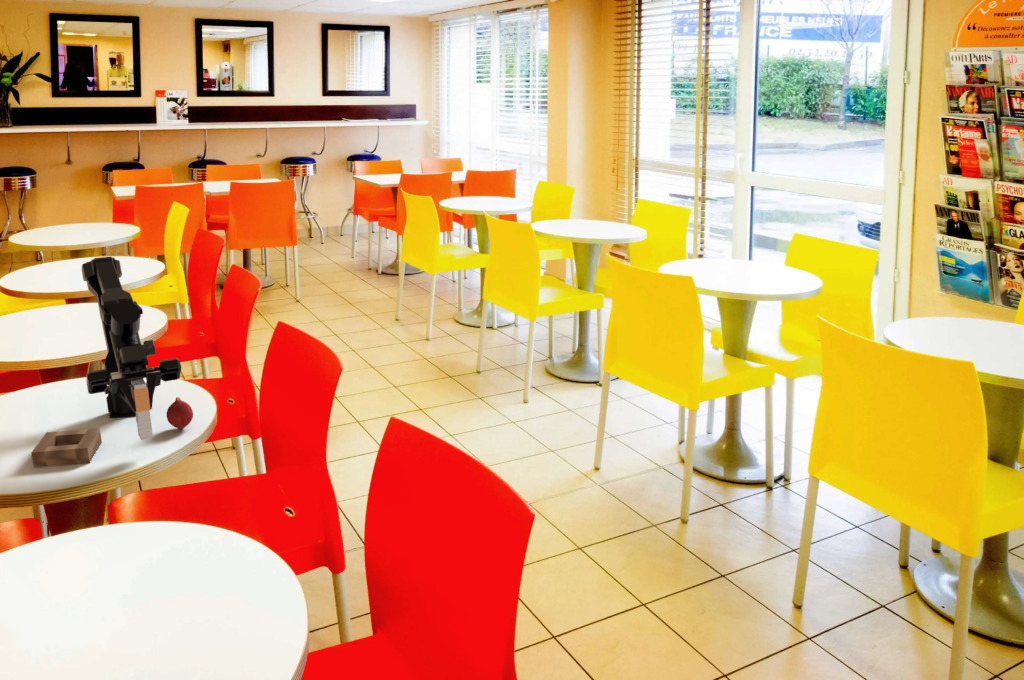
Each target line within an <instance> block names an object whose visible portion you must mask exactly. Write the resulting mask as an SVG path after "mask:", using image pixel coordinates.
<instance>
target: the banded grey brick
mask: <svg viewBox="0 0 1024 680" xmlns="http://www.w3.org/2000/svg"><path fill="white" fill-rule="evenodd" d="M131 383H132V385H131V392H132V397H133V400H134V403H135V407H136V412H135V414H136V416H135V420H136V421H135V422H136V428H137V435H138V437H139V439H140V440H141V441H143V440H149V439H153V438H154V436H153V435H154V434H153V428H152V420H151V419H152V418H151V410H152V409H150V401H149V393H148V388H147V386H146V381H145V380H144V378H143V379H140V380H134V381H131Z"/></svg>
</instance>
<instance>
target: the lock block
mask: <svg viewBox="0 0 1024 680" xmlns="http://www.w3.org/2000/svg"><path fill="white" fill-rule="evenodd" d="M101 435H102V434H101V428H100V427H99V428H87V429H86V428H85V429H73V430H60V431H59V430H58V431H47V432H46V433H44V435H43V436H42V438H41V439H40V441H39V442H38V443H37V444H36V445H35V447H34V448H33V449H32V451H31V452H30V453H31V459H32V465H33V468H34V469H35V468H44V467H46V468H47V467H56V466H58V465H59V466H69V465H81V464H82V463H83V464H90V463H91V462H92V460H93V459H92V458H94V457H95V455H96V453H97V452H98V450H99V448H100V447H101V445H102V443H103V442H102V440H103V439H102V436H101ZM99 446H100V447H99ZM96 451H97V452H96ZM94 454H95V455H94ZM93 456H94V457H93ZM90 461H91V462H90ZM83 464H82V465H83Z"/></svg>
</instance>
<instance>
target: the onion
mask: <svg viewBox="0 0 1024 680" xmlns="http://www.w3.org/2000/svg"><path fill="white" fill-rule="evenodd" d="M193 417H194V411H193V408H192V406H191V405H190V404H189V403H188V402H186V401H184V400H182V399H181V397H179V396H176V397H175V400H174V402H172V403H171V404H170V405H169V406H168V408H167V411H166V419H167V422H168V423H169V424H170V425H171V426H172V427H174V428H176V429H178V430H184V429H185V428H186V427H188V426H189V424H190V423H191V421H192V420H193V419H194V418H193Z"/></svg>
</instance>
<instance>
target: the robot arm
mask: <svg viewBox="0 0 1024 680" xmlns="http://www.w3.org/2000/svg"><path fill="white" fill-rule="evenodd" d="M81 274H82V280H83V282H86V285H87V290H88V291H89V292H90V293H92V295H93V296H94V297H95V298H96V300H97V305H98V310H99V316H100V321H101V325H102V330H103V335H104V341H105V345H106V350H107V354H106V356H105V359H104V361H103V369H97V370H90V371H88V372H87V373H86V388H87V389H86V390H87V393H88V394H89V395H94V394H98V393H99V394H100V393H104V394H105V395H107V396H106V399H105V400H106V405H107V412H108V413H109V415H108V416H109V418H121V417H123V418H124V417H136V414H135V412H136V407H135V403H134V400H133V397H132V392H131V385H132V383H131V381H134V380H140V379H143V380H144V379H145V380H146V381H145V383H146V386H147V388H148V393H149V401H150V409H151V410H153V400H154V393H155V390H156V387H159V386H161V382H162V381H163V382H170V381H177V380H179V379H180V378H181V373H182V372H181V371H182V364H181V361H180V359H178V358H177V357H173V358H167V359H161V360H159V365H158V366H154V367H148V365H149V358H148V357H151V356H155V355H156V353H157V351H156V346H155V343H154V340H153V339H150V340H149V339H148V340H144V341H143V344H142V341H141V338H140V334H139V332H140V327H141V317H142V315H143V314H144V313H143V311H144V310H143V308H142V307H141V306H140V305H139V304H138V302H137V301H136V300H134V298H133V297H132V294H131V292H129V291H126V290H124V288H123V286H122V284H121V283H122V282H121V280H120V278H122V275H123V272H122V265H121V262H120V260H118V259H116V258H115V257H112V256H103V257H101V256H100V257H94V258H93V259H91V260H90V261H86V262H85V263H82V265H81Z"/></svg>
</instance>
